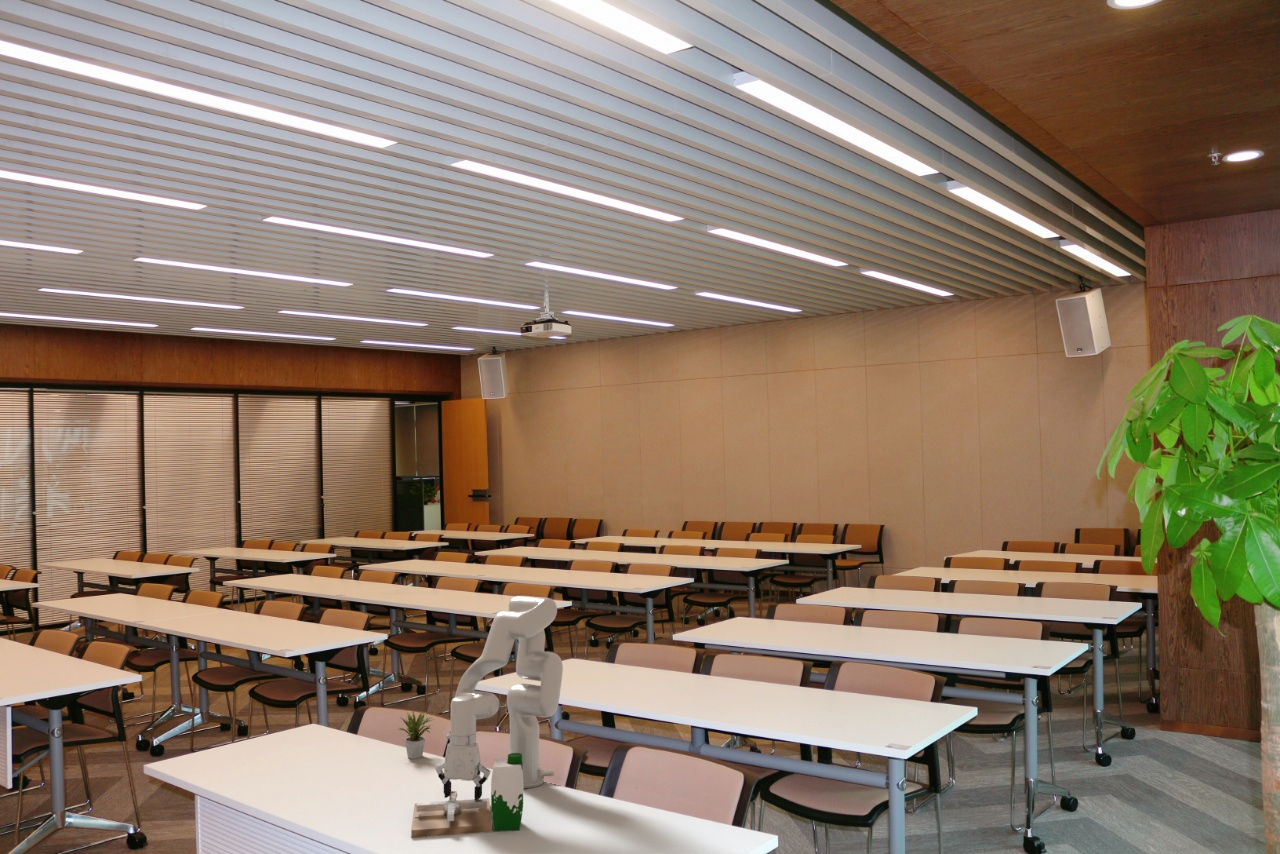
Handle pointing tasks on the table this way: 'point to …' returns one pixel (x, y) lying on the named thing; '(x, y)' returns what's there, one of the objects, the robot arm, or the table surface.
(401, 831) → the table surface
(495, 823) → the milk carton
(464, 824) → the stand plate
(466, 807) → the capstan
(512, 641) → the robot arm
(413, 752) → the house plant
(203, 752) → the table surface
